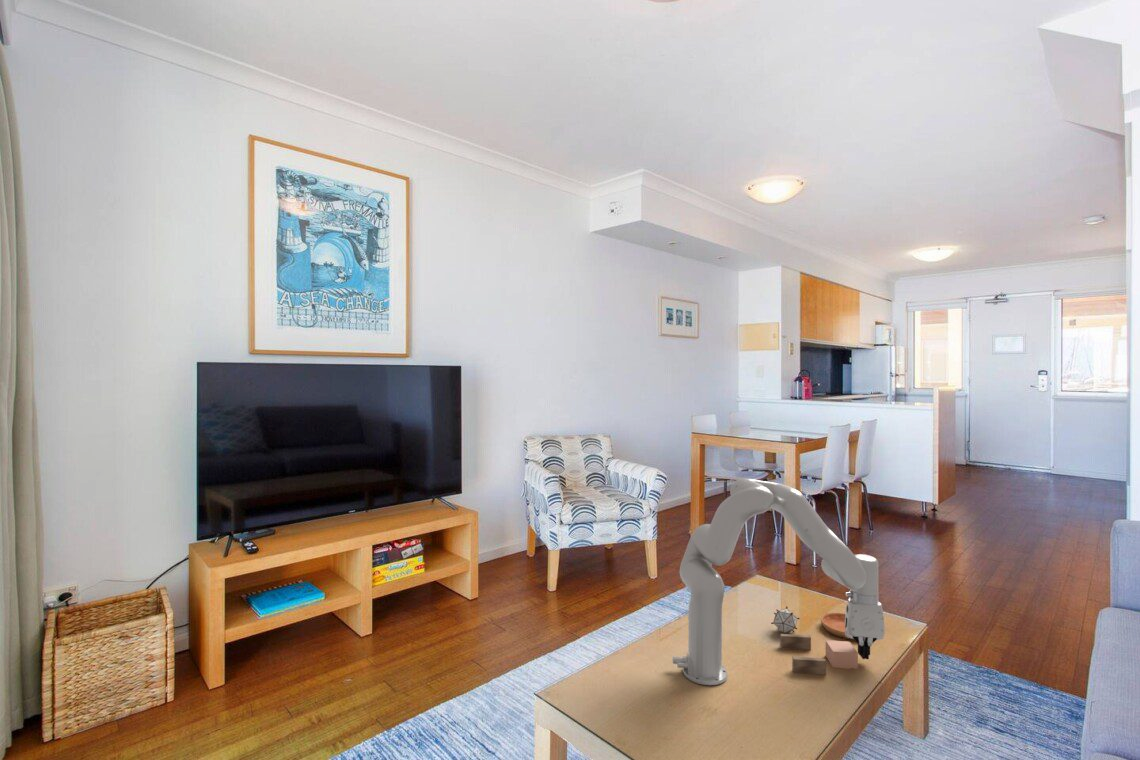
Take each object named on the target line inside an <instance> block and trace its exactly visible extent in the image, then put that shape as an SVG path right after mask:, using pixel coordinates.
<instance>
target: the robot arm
mask: <svg viewBox="0 0 1140 760" xmlns="http://www.w3.org/2000/svg"><path fill="white" fill-rule="evenodd" d="M731 484H732V485H731V486H730V493H729V494H730V496H728V497H726V498H725V499H724V500H723V501H722V502H721V503H720V504H719V506H718V507H717V509H716V511H715V513H714V515H713V518H712V519H711V522H710V523H705V524H701V525H699V526H698V527H696V528H695V530H693V532H692V534H691V536H690V539H689V540H688V543H687V546H686V549H685V552H684V553H683V557H682V559H681V561H680V562H681V563H680V567H679V577H680V580H681V581H682V583H683V584H684V585H685V587H686V588H687V589H688V590H689V593H690V598H689V602H688V603H689V605H688V612H687V613H688V614H687V615H688V616H687V618H688V619H687V620H688V652H687V653H686V656H685V655H684V656H683V657H681V656H680V657H679V656H672V664H673V665H676V666H677V668H679V669H681V668H682V672H683V675H684V677H685V678H687V679H688V680H689V681H691V682H693V683H695V684H698V685H703V686H718V685H721V684H722V683H724V682H725V681H727V679H728V671H727V669H726V668H725V666H723V664H722V663H723V662H722V661H723V659H722V658H723V649H722V648H723V647H722V645H723V638H722V637H723V632H722V631H723V630H722V629H723V625H722V624H723V623H722V622H723V620H722V619H723V615H722V614H723V602H724V597H725V584H724V581H723V578H722V577H721V574H719V572H718V571H717V570H716V569H715V568H713V565H715V566H725V565H726V564H727V563H728V562H729V561H730V560H731V559H732V556H733V553H734V551H735V548H736V545H737V543H738V540H739V537H740V536H741V535H740V534H741V532H742V529H743V528H744V525H745V524H746V522H747V521H749V520H750V519H751V518H753V517H755V516H756V515H761V514H764V513H766V512H767V511H769V510H774V511H776V512H778V513H779V514H781V515H782V517H783V518H784V520H786V522H787V523H788V524H789V526H790V527H791V528H792V530H793V531H794V533H795V534H796V536H798V538H799V539H800V541H802V543H803V544H804V545H805V546H806V547H808V548H809V549H810V550H811V551H813V552H814V553H815V554H817V555H818V556H819V557H820V558H821V559H822V560H821V563H820V565H821V570H822V571H823V573H824V574H825V575H826V576H828V577H829V578H830V579H832V580H834V581H835V582H837V583H839V584H840V585H842V586H843V587H845V588H847V589H849V591H847V592H845V597H847V598H848V599H847V602H846V608H845V613H844V614H845V628H846V631H845V635H846V637H848V638H852V639H851V640H854V641H856V643H857V652H858V656H860V658H862V659H863V660H869V659H870V658H869V657H870V655H871V647H872V645H873V644H874V643H875V642H876V641H878V640H879V641H881V640H883V639H884V637H885V634H886V629H885V628H886V625H885V618H884V617H885V616H884V610H883V609H884V608H883V605H882V603H881V602H880V601H879V567H880V566H879V561H878V559H877V558H875V556H872V555H869V554H865V553H859V554H854V553H853V552H852V550H851V549H850V548H849V547H848V546H847V545H846V544H845V543H844V542H843V541H842V540H841V539H840V537H838V536H837V535H836V534H835V533H834V532H833V530H831V529H830V528H829V527H828V526H827V524H826V523H825V522H824V521H823V519H822V518H821V517H820V515H819V514H818V512H817V511H816V510H815V508H814V507H813V506H812V505H811V503H810V502H809V501H808V499H807V498H806V497H805V495H804V494H803V493H802V492H801V491H800V490H798V489H796V488H794V487H791V486H789V485H787V484H785V483H784V484H783V483H777V482H772V481H771V482H770V481H764V480H760V479H759V480H758V479H753V478H747V477H746V478H744V477H743V478H739V479H737V480H735V481H734V482H733V483H731ZM863 637H865V638H863Z"/></svg>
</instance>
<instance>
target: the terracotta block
mask: <svg viewBox="0 0 1140 760" xmlns="http://www.w3.org/2000/svg"><path fill="white" fill-rule="evenodd" d="M825 657H826V659H827V658H828V659H827V660H828V662H829V663H830V666H832V668H834V667H835V669H836V668H837V669H850V668H858V669H859V654H858V650H856V648H855V647H854V645H853V644H852V643H851V642H850V641H846V640H845V641H843V640H842V641H841V640H828V639H827V640H826V639H825Z"/></svg>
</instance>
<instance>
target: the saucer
mask: <svg viewBox="0 0 1140 760" xmlns="http://www.w3.org/2000/svg"><path fill="white" fill-rule="evenodd" d="M820 623H821V625H822V626H823V627H824V628H825V629H826V630H827V631H828V633H830V634H832V635H834V636H836V635H837V636H836V637H839V638H842V637H843V639H847V638H848V637H846V635H845V631H846V628H845V613H840V612H830V613H828V612H827V613H826V614H823V615H822V616H821V617H820ZM864 638H865V637H863V639H864ZM849 640H853V639H852V638H850V639H849Z"/></svg>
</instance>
